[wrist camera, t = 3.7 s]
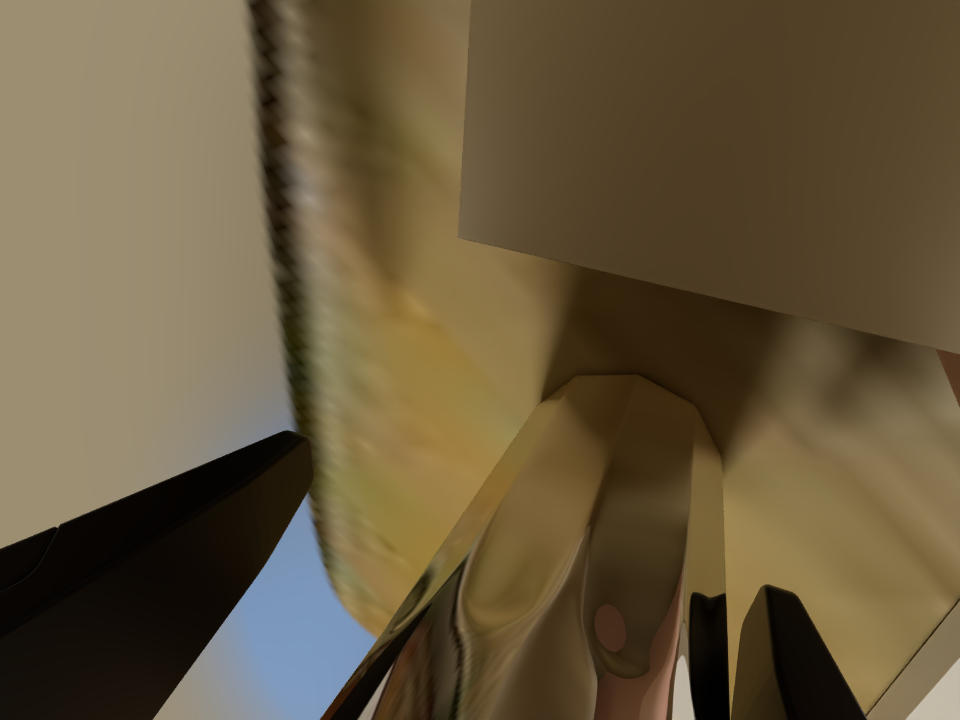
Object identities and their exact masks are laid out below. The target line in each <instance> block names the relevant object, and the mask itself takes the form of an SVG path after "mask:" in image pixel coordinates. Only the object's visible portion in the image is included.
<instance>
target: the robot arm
mask: <svg viewBox="0 0 960 720" xmlns="http://www.w3.org/2000/svg"><path fill="white" fill-rule="evenodd" d="M313 478H314V466H313V456H312V446H311V441H310V439H309V438H308V437H307V436H305V435H302V434H299V433H296V432H293V431H287V430H286V431H282V432H279V433H277V434H275V435H272V436H270V437H268V438H265V439H263V440H260V441H258V442H255V443H253V444H251V445H248V446H246V447H244V448H241V449H239V450H236V451H234V452H232V453H230V454H227V455H225V456H222V457H220V458H217V459H215V460H213V461H210V462H208V463H206V464H203V465H201V466H198V467H196V468H194V469H191V470H189V471H186V472H184V473H182V474H179V475H177V476H174V477H172V478H170V479H168V480H165V481H162V482H160V483H158V484H155V485H153V486H151V487H148V488H146V489H143V490H141V491H139V492H136V493H134V494H132V495H129V496H127V497H124V498H122V499H120V500H117V501H115V502H112V503H110V504H108V505H105V506H103V507H100V508H98V509H96V510H93V511H91V512H89V513H86V514H84V515H81V516H79V517H77V518H74V519H72V520H70V521H67V522H65V523H62V524H60V526H59V527H58V528H56V527H53V528H50V529H48V530H45V531H43V532H41V533H38V534H36V535H33V536H31V537H29V538H27V539H24V540H21V541H19V542H16V543H14V544H11V545H9V546H6V547H4V548H1V549H0V720H153V718H154V717H155V716H156V714H157V713H158V712H159V710H160V709H161V707H162V706H163V704H164V703H165V702H166V700H167V699H168V698H169V696H170V695H171V694H172V692H173V691H174V690H175V688H176V687H177V685H178V684H179V683H180V681H181V680H182V679H183V677H184V676H185V674H186V673H187V672H188V670H189V669H190V668H191V666H192V665H193V663H194V662H195V661H196V659H197V658H198V656H199V655H200V654H201V652H202V651H203V650H204V648H205V647H206V646H207V644H208V643H209V641H210V640H211V639H212V637H213V636H214V635H215V633H216V632H217V630H218V629H219V628H220V626H221V625H222V624H223V622H224V621H225V620H226V618H227V617H228V615H229V614H230V613H231V611H232V610H233V609H234V607H235V606H236V605H237V603H238V602H239V600H240V599H241V598H242V596H243V595H244V594H245V592H246V591H247V589H248V588H249V587H250V585H251V584H252V583H253V581H254V580H255V578H256V577H257V576H258V574H259V573H260V571H261V570H262V568H263V567H264V565H265V564H266V562H267V561H268V559H269V558H270V556H271V554H272V553H273V551H274V549H275V547H276V546H277V544H278V542H279V540H280V539H281V537H282V535H283V534H284V532H285V530H286V528H287V527H288V525H289V523H290V522H291V520H292V518H293V516H294V515H295V513H296V511H297V510H298V508H299V506H300V504H301V503H302V500H303V499H304V497H305V496H306V494H307V492H308V491H309V489H310V487H311V485H312V482H313ZM731 720H868V719H867V718H866V716H865V714H864V712H863V711H862V709H861V707H860V705H859V703H858V702H857V700H856V698H855V696H854V695H853V693H852V691H851V689H850V687H849V686H848V684H847V682H846V680H845V679H844V677H843V675H842V673H841V671H840V670H839V668H838V666H837V664H836V663H835V661H834V659H833V657H832V656H831V654H830V652H829V650H828V648H827V647H826V645H825V643H824V641H823V640H822V638H821V636H820V634H819V632H818V631H817V629H816V627H815V625H814V624H813V622H812V620H811V618H810V617H809V615H808V613H807V611H806V609H805V608H804V606H803V604H802V602H801V601H800V599H799V597H798V596H797V595H796V594H794V593H793V592H790V591H787V590H784V589H781V588H778V587H775V586H772V585H763V586H762V587H761V588H760V590H759V591H758V593H757V595H756V597H755V599H754V601H753V603H752V605H751V607H750V609H749V611H748V613H747V615H746V617H745V619H744V622H743V625H742V629H741V634H740V642H739V651H738V660H737V669H736V677H735V686H734V695H733V704H732V713H731Z"/></svg>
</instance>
